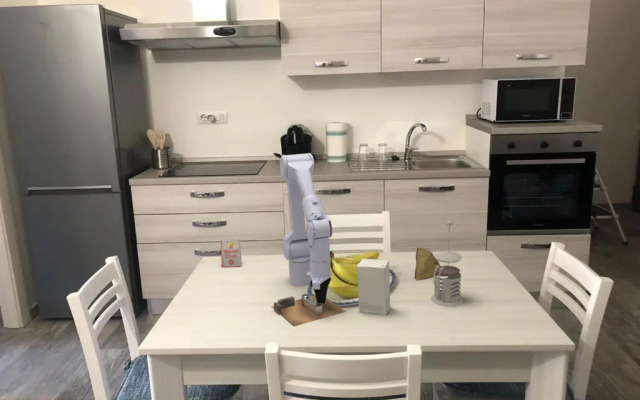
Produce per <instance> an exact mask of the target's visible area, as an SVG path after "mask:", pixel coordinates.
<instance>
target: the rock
mask: <svg viewBox="0 0 640 400" xmlns="http://www.w3.org/2000/svg"><path fill="white" fill-rule="evenodd" d="M415 251H416V252H415V269H414V280H416V281H419V280H427V279H429V278H434V277H435V276H434V272H435V269H436V267H437V265H439V266H441V264H440V261H437V260H436V259H435V255H434V253H433V252H432V251H430V250H428V249H427V248H424V247H417V248H416V250H415ZM439 266H438V267H439Z"/></svg>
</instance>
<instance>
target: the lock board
mask: <svg viewBox="0 0 640 400" xmlns="http://www.w3.org/2000/svg"><path fill="white" fill-rule="evenodd" d="M310 297H311V298H312V299H313V300H315V301H316V302H317V299H316V295H315V294H314V295H310ZM330 302H333V301H331V300H330V299H329V298H327V297H326V301H325V303H324V304H321V303H319V304H320V305H322V314H318V315H315V314H314V313H313V312H311V311H310V310H309V309H308V308H306V307H305V306H303V305H302V298H297V299H295V296H287V297H285V298H280V299H277V301H275V302H273V305H272V306H271V309H273V311H274V312H275V313H276V314H277V315H280V316H281V317H282V319H284V320H285V321H286V322H288V323H289V324H290V325H291V326H292V327H298V326H301V325H304V324H307V323H311V322H315V321H318V320H322V319H325V318H329V317H331V316H332V317H333V316H335V315H339V314H342V313H346V312H347V311H346V310H345V309H343V308H341V306H339V305H337V304H336V303H334V302H333V303H330Z"/></svg>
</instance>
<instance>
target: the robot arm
mask: <svg viewBox="0 0 640 400" xmlns="http://www.w3.org/2000/svg"><path fill="white" fill-rule="evenodd" d="M314 169H315V159H314V155H312V153H310V152H308V153H299V154H287V155H286V154H282V155H281V157H280V158H279V171H280V172H279V173H280V177H281V181H284V182H286V185H287V198H288V199H287V200H288V211H289V222H290V223H289V224H290V225H289V226H290V230H289V231H288V232H287V233H286V234H284V236H283V237H282V254H283V257H284V258H285V259H286V260H287V261H288V276H289V279H288V281H289V284H291V285H292V286H298V287H299V286H300V287H302V286H308V285H309V284H310V286H311V288H312V290H313V291H314V295H316V299H317V302H318V303H321V304H324V303H325V301H326V298H327V297H328V296H327V295H328V289H329V286H330V284H331V281H332V272H331V254H330V253H331V252H330V251H331V249H330V248H331V245H330V243H331V242H330V238H331V237H332V236H333V224H332V221H331V218H329V215H328V214H326V213H325V210H324V207H323V203H322V200H321V198H320V197H319V196H316V192H315V188H314V183H313V178H312V176H313V174H314Z"/></svg>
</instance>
